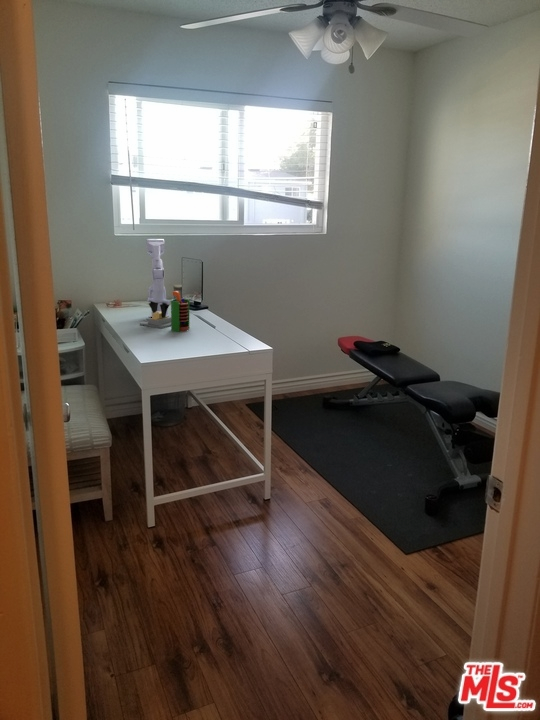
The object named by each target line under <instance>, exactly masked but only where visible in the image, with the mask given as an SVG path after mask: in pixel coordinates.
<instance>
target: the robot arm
mask: <svg viewBox="0 0 540 720" xmlns="http://www.w3.org/2000/svg"><path fill="white" fill-rule="evenodd" d="M165 244H166V243H165V239H164V238H146V246H145V247H146V253H147V255H150V257H151V281H152V284H151V285H150V286H149V287H148V298H146V299H147V303H148V305H149V307H150V310H151V315H149V316H148V318H151V317H152V318H153V313H155V312H156V311H159V312H160V311H161V313H162V317H165V316H168V317H170V315H169V307H170V306H171V300H169V299H167V291H166V290H167V289H166V287H165V281H164V280H165V269H164V265H163V264H164V263H163V259H161V256H162V255H164V253H165V248H166V245H165Z"/></svg>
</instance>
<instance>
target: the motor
mask: <svg viewBox="0 0 540 720" xmlns="http://www.w3.org/2000/svg"><path fill="white" fill-rule="evenodd" d="M172 296H176V297H175V298H172V299H171V300H170V301H171V304H170V317H171V326H170V328H171V329H170V330H171V331H173V332H175V333H179V332H180V331H182V332H187V330H188V331H189V329H190V299H189V298H181V293H180V291H179V290H174V291H172Z"/></svg>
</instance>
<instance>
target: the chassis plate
mask: <svg viewBox="0 0 540 720" xmlns="http://www.w3.org/2000/svg"><path fill="white" fill-rule="evenodd" d="M139 325H140V326H143V325H144V326H145V327H149V326H151V328H156V327H157V329H166V328H169V327H170V328H171V316H168V317H166V318H165V319H161V320H154V319H151V317H148V318H147V321H143V322H141V323H139ZM165 327H166V328H165Z"/></svg>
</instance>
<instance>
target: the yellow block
mask: <svg viewBox="0 0 540 720" xmlns="http://www.w3.org/2000/svg"><path fill="white" fill-rule="evenodd" d="M166 317H169V316H165V317H162V313H161V311H160V312H159V311H156V312H155V313H153V318H151V317H150V318H151V319H154V320H161V319H165V318H166Z"/></svg>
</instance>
